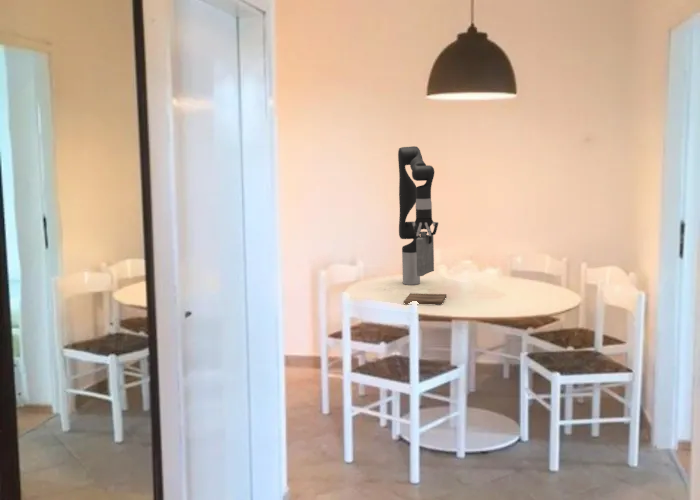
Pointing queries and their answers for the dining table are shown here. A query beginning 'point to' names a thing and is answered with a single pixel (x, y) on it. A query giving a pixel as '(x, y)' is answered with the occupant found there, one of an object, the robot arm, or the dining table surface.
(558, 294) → the dining table surface
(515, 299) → the dining table surface
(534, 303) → the dining table surface
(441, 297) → the walnut board
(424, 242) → the hip flask
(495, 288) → the dining table surface
